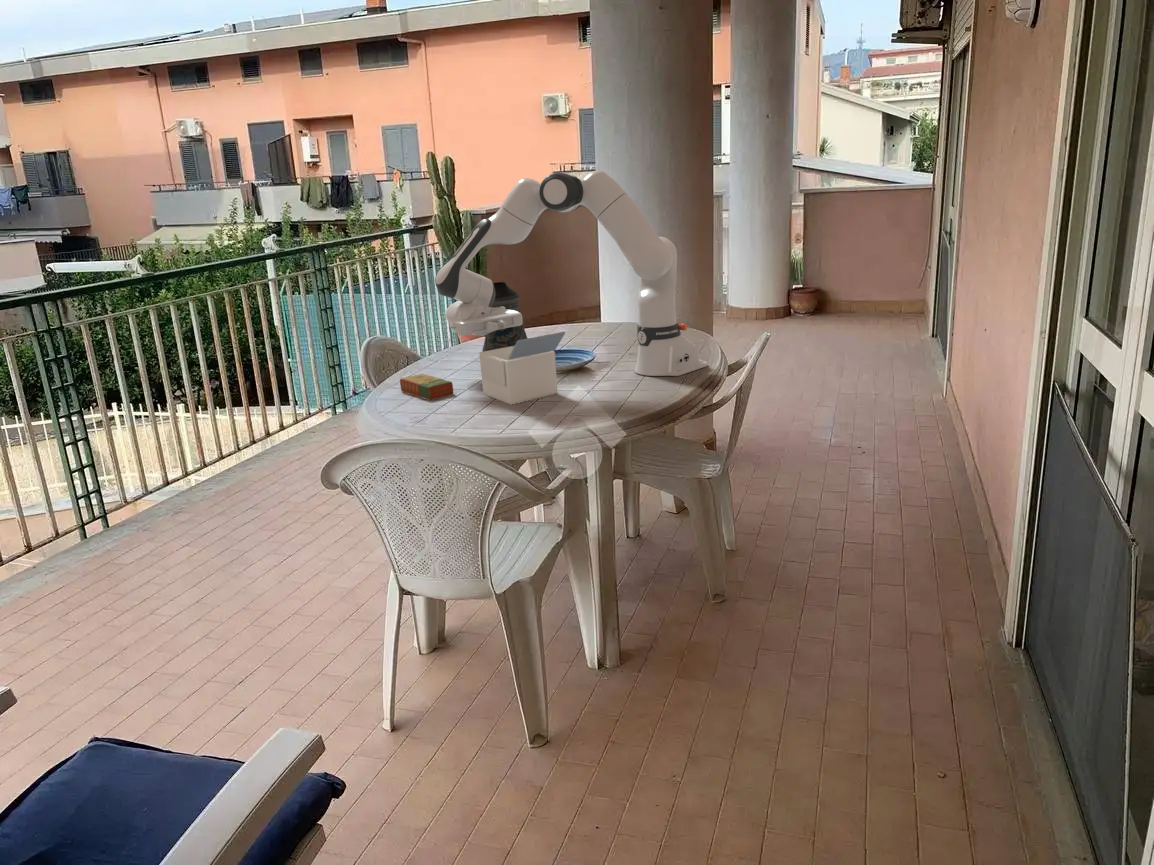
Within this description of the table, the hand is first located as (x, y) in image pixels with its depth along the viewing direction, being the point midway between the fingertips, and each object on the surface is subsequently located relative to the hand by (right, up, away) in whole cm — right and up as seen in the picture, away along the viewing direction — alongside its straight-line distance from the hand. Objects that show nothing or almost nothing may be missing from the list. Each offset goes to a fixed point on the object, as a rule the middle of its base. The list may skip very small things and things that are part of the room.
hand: (501, 326), depth 233 cm
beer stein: (-3, -5, +45) cm, 46 cm away
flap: (+11, -7, -15) cm, 19 cm away
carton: (-22, -19, +7) cm, 30 cm away
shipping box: (+5, -19, -1) cm, 20 cm away
